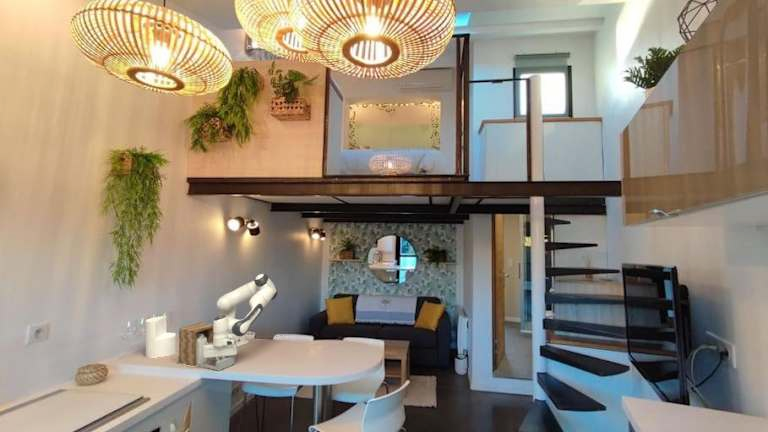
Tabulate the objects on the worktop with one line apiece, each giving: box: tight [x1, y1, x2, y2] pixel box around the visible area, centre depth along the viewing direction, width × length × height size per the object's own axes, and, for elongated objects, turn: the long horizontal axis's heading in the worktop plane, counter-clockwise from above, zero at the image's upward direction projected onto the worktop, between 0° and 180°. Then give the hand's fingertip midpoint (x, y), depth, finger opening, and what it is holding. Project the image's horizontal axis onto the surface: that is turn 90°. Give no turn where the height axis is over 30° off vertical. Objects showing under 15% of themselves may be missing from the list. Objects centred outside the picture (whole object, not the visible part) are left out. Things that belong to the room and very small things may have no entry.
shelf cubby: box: [178, 322, 216, 367], centre depth 250 cm, size 14×16×24 cm
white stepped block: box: [145, 315, 177, 359], centre depth 268 cm, size 19×19×25 cm
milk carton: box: [196, 333, 208, 364], centre depth 250 cm, size 7×7×19 cm
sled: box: [196, 355, 236, 372], centre depth 246 cm, size 32×12×5 cm, turn 65°
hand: (220, 363), depth 241 cm, fingers closed
